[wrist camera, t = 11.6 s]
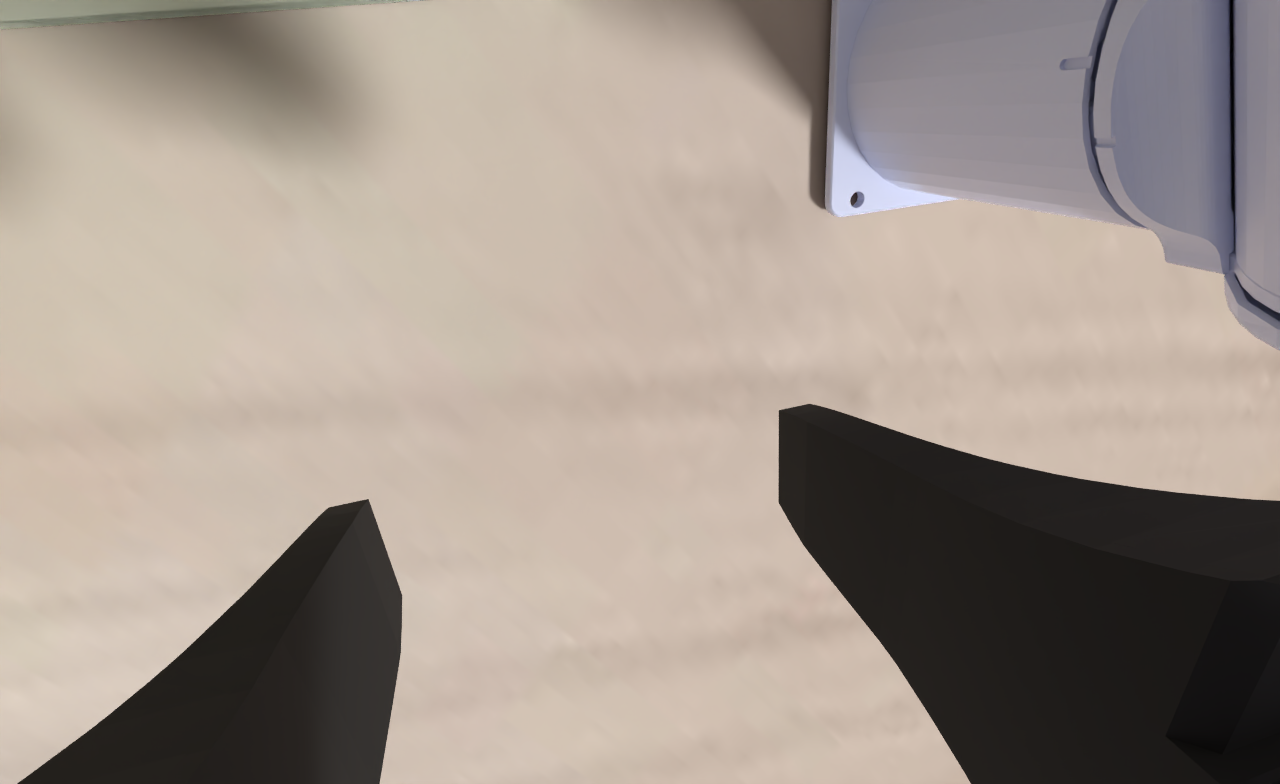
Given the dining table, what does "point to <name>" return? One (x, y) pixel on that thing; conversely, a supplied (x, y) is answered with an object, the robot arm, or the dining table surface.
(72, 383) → the dining table surface
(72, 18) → the bin
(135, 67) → the dining table surface
